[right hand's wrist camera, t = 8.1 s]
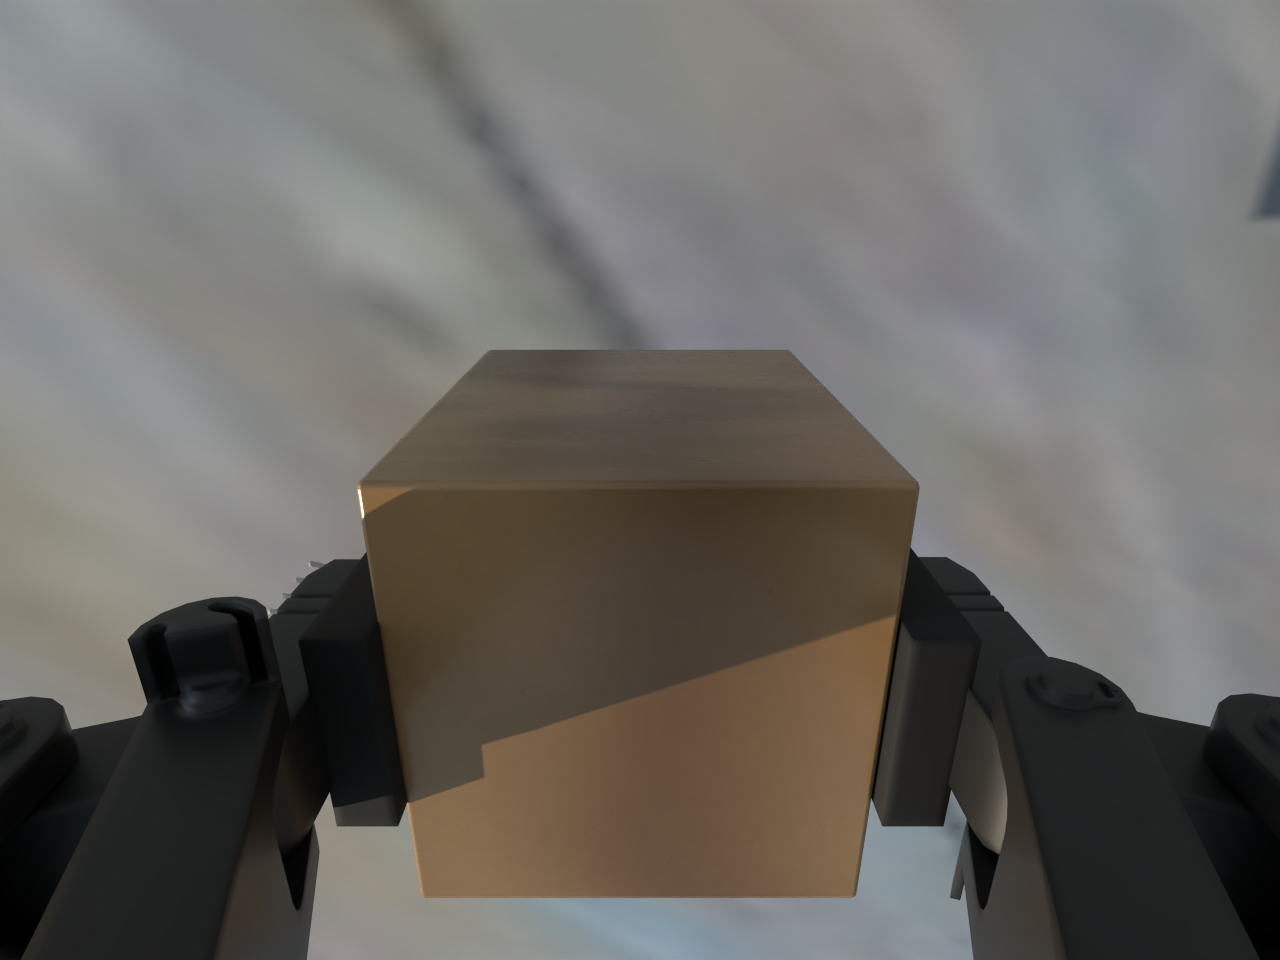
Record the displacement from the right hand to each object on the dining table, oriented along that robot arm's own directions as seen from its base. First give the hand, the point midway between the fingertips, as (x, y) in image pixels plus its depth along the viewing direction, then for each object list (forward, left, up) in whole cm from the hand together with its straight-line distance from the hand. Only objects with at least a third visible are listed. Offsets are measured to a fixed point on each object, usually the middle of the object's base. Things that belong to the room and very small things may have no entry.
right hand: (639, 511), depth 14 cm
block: (0, 0, -1) cm, 1 cm away
